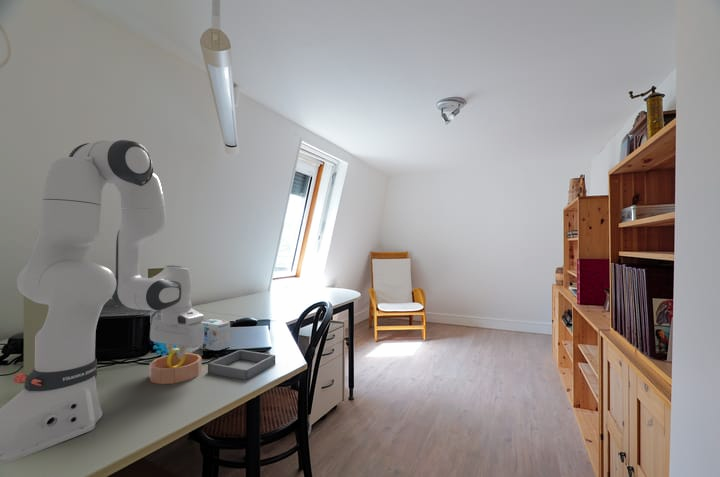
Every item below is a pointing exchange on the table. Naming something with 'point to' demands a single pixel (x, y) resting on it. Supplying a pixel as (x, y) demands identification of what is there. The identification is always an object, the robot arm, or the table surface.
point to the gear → (162, 348)
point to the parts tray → (222, 369)
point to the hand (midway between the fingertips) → (176, 357)
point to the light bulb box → (215, 332)
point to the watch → (171, 357)
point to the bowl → (175, 369)
